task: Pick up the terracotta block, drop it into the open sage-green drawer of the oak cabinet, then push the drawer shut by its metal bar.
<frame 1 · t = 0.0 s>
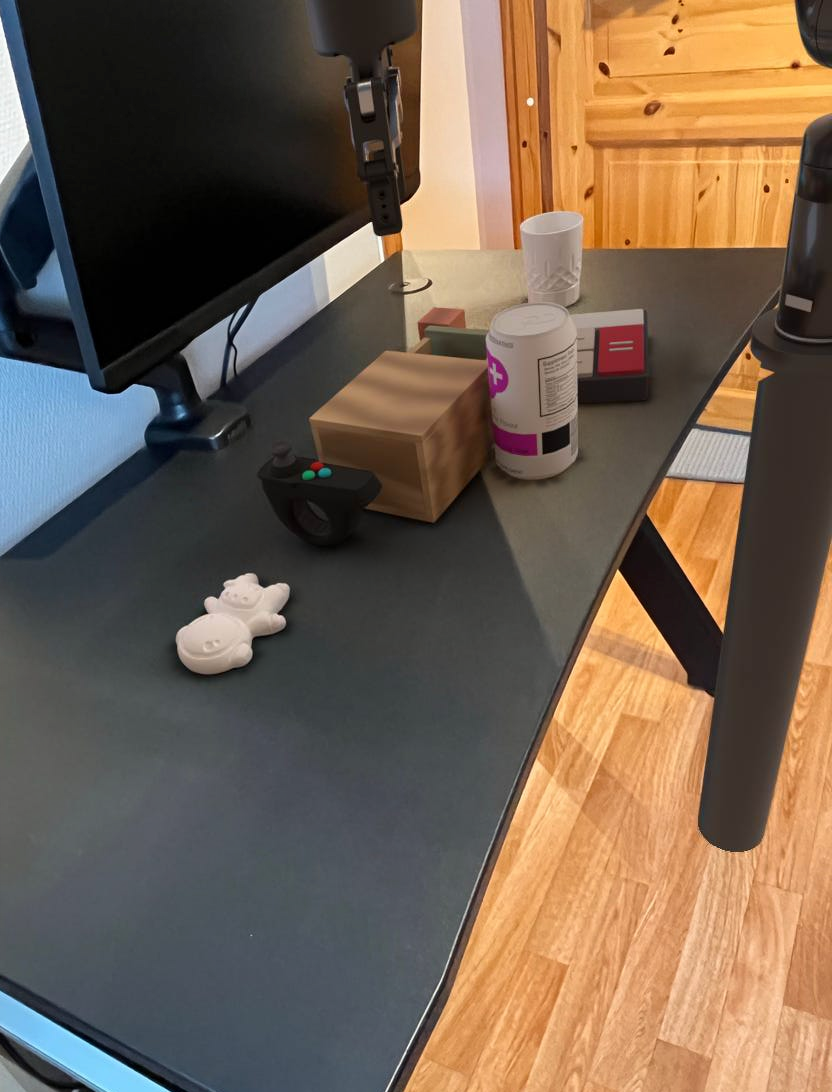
hand: (391, 215, 69), 27 cm above the table, tool pointing down, fingers open, 8 cm apart
block: (444, 348, 112), on the table
white animal figurine: (238, 629, 78), on the table
cabinet: (415, 473, 92), on the table
drawer: (458, 382, 94), point 5 cm above the table, slide at 7.0 cm
white cup: (553, 301, 117), on the table
calculator: (596, 373, 101), on the table
supplement can: (536, 462, 89), on the table
controller: (332, 541, 85), on the table
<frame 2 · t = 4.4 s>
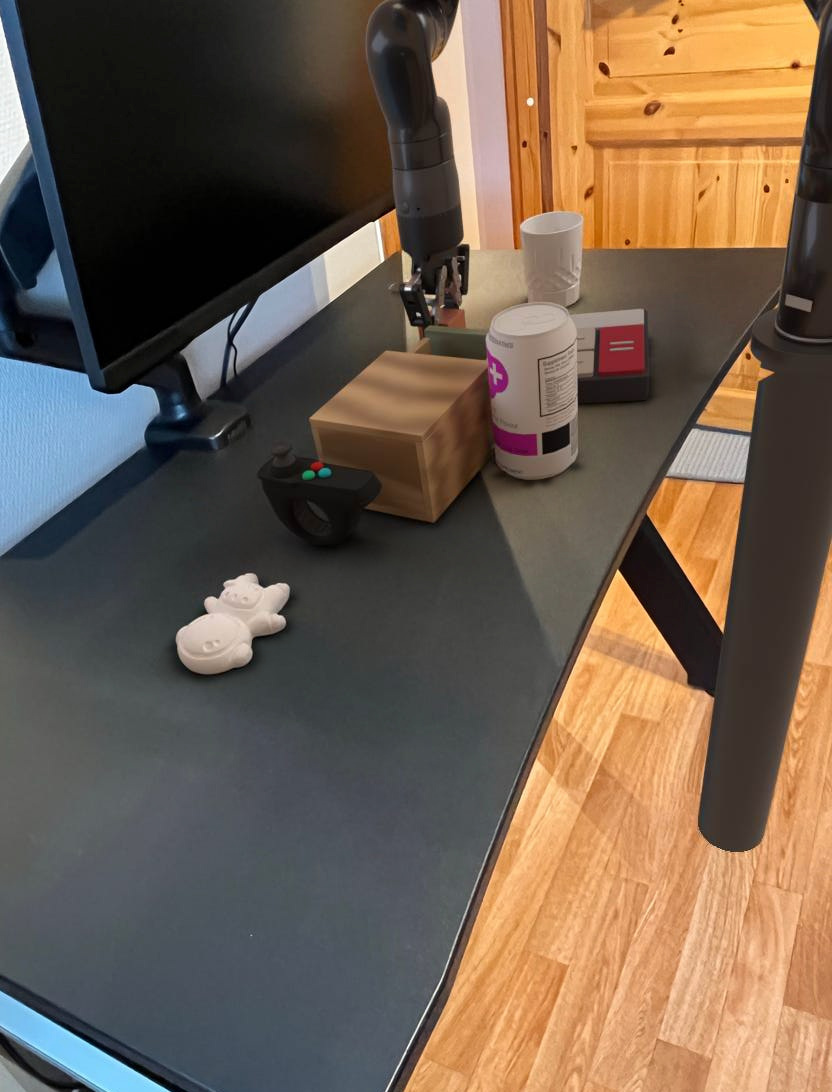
hand: (444, 343, 112), 1 cm above the table, tool pointing down, fingers closed on block, 4 cm apart
block: (444, 348, 112), on the table, touching gripper
everything else where it was.
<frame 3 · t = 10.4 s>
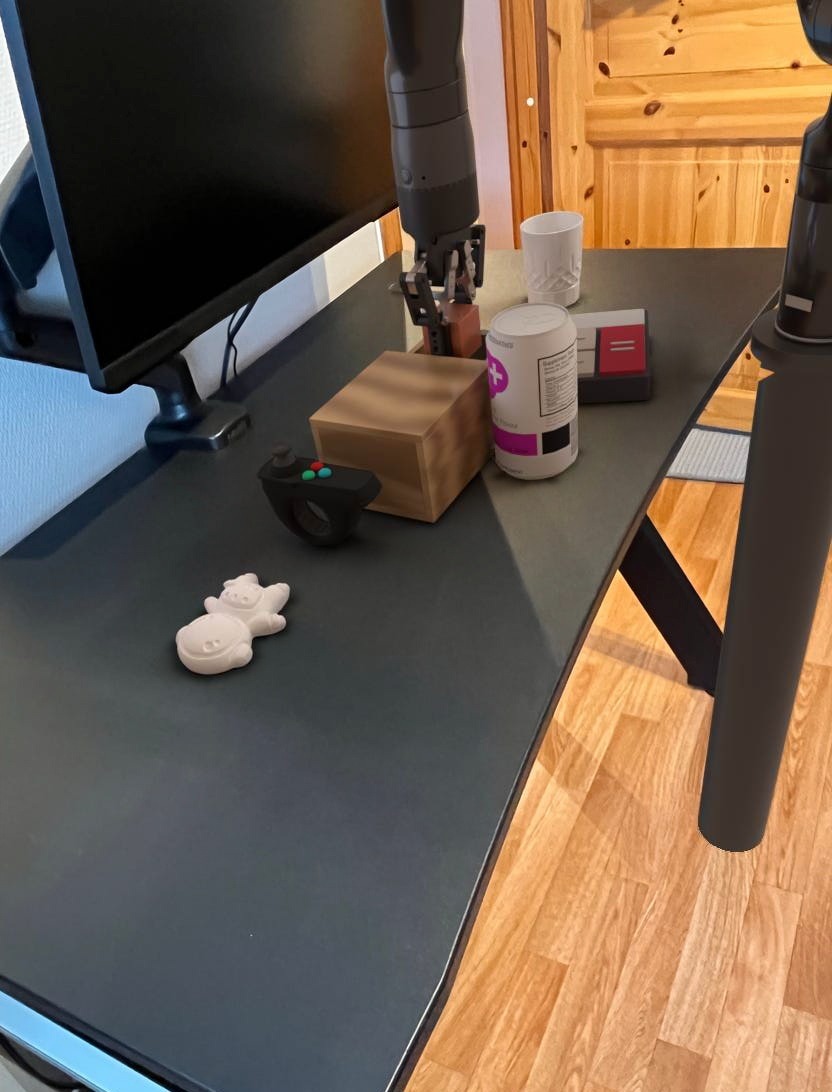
hand: (453, 346, 92), 9 cm above the table, tool pointing down, fingers closed on block, 4 cm apart
block: (454, 352, 92), point 8 cm above the table, touching gripper
everything else where it was.
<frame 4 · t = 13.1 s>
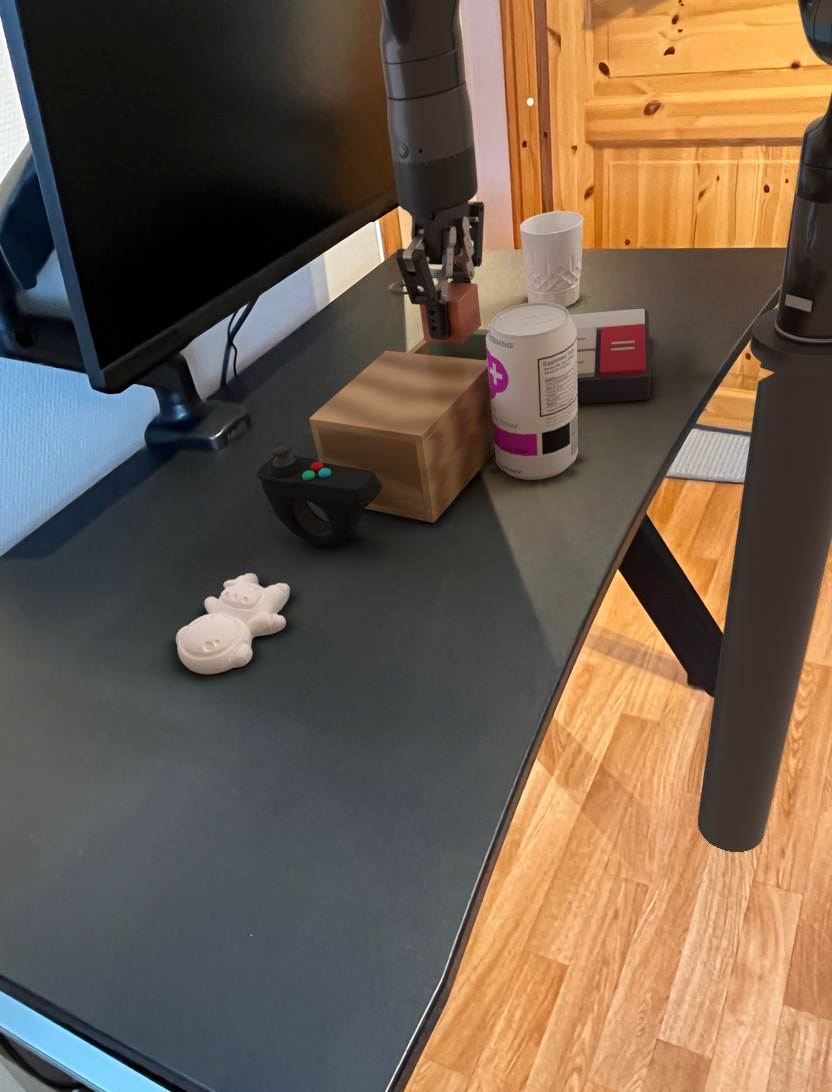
hand: (452, 326, 90), 11 cm above the table, tool pointing down, fingers closed on block, 4 cm apart
block: (452, 333, 91), point 10 cm above the table, touching gripper
everything else where it was.
when the fingers open (11 cm above the table, at t = 21.9 s): block drops 8 cm, resting on drawer.
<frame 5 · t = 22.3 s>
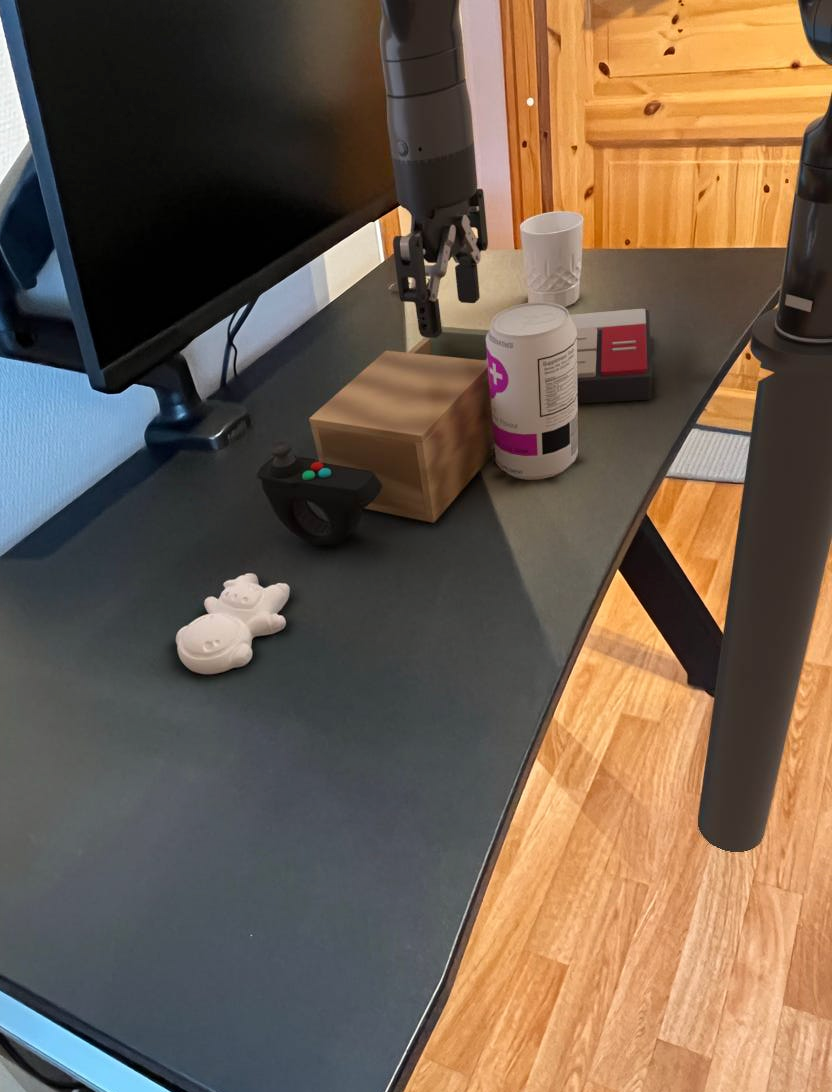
hand: (450, 318, 90), 12 cm above the table, tool pointing down, fingers open, 8 cm apart
block: (460, 406, 96), point 2 cm above the table, touching drawer
drawer: (458, 382, 94), point 5 cm above the table, slide at 7.0 cm, touching block
everything else where it was.
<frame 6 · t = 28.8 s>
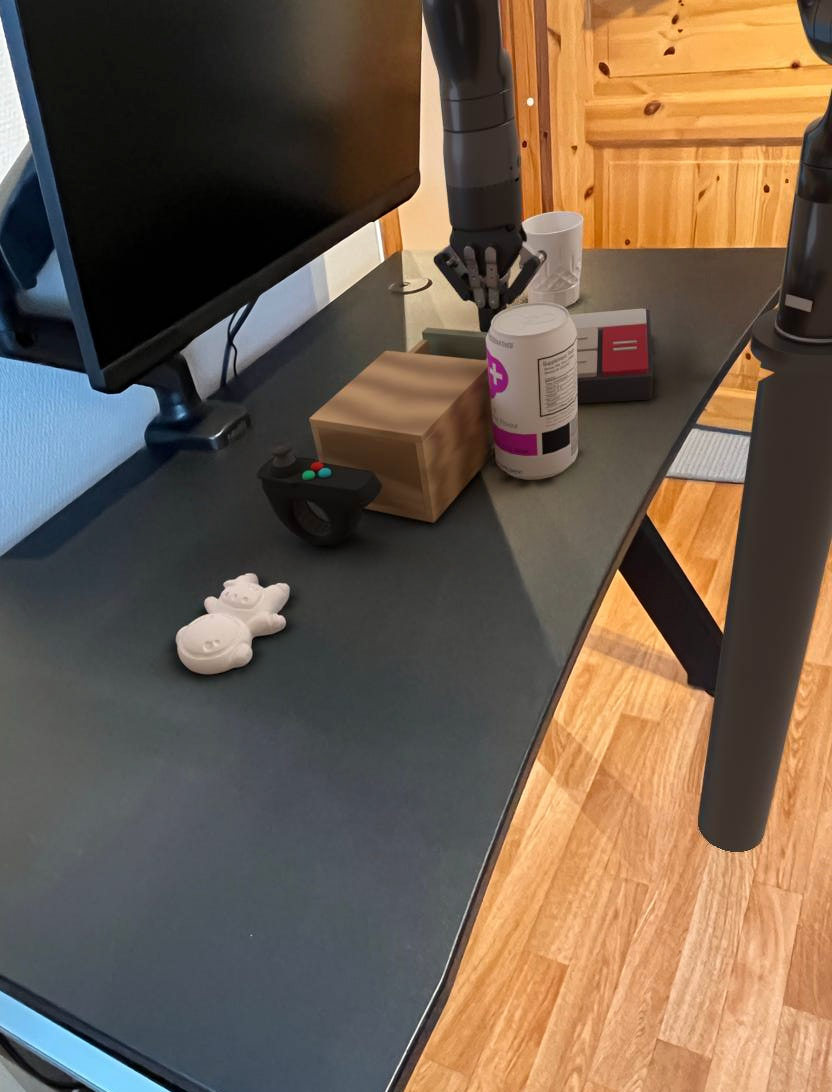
hand: (494, 336, 99), 6 cm above the table, tool pointing down, fingers closed
drawer: (456, 384, 94), point 5 cm above the table, slide at 6.5 cm, touching block, gripper
everything else where it was.
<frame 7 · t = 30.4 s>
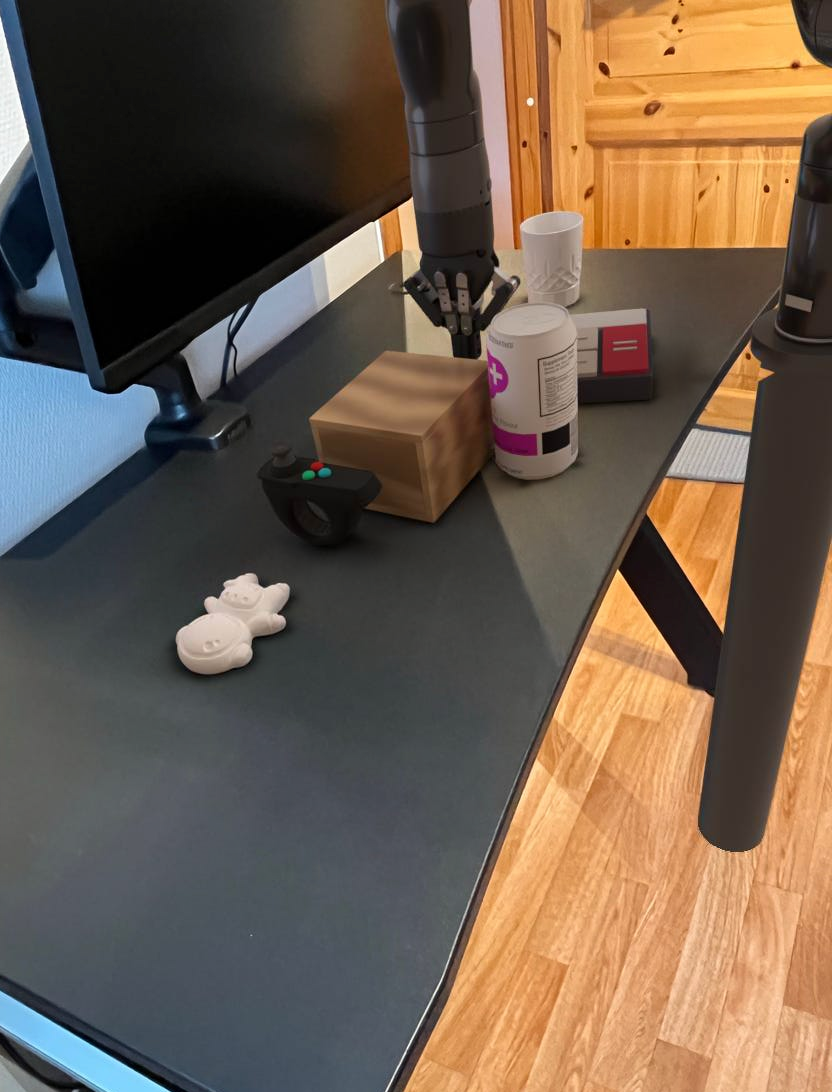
hand: (468, 362, 96), 6 cm above the table, tool pointing down, fingers closed
block: (429, 438, 92), point 2 cm above the table, touching drawer
drawer: (427, 414, 91), point 5 cm above the table, slide at 0.0 cm, touching block, cabinet, gripper
everything else where it was.
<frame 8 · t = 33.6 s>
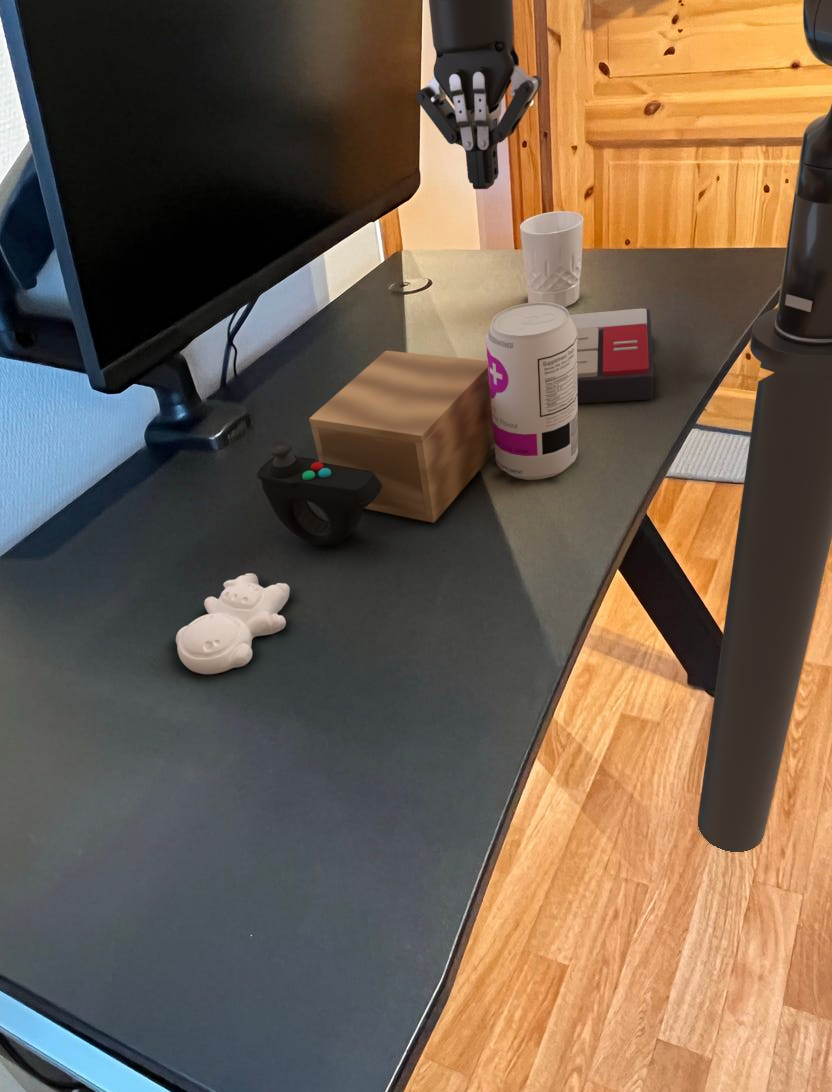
hand: (484, 186, 90), 21 cm above the table, tool pointing down, fingers closed
drawer: (427, 414, 91), point 5 cm above the table, slide at 0.0 cm, touching block, cabinet
everything else where it was.
at the end: block inside the target area in the cabinet (3.7 cm from its centre), point 2.0 cm above the cabinet's base; drawer slide at 0.0 cm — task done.
